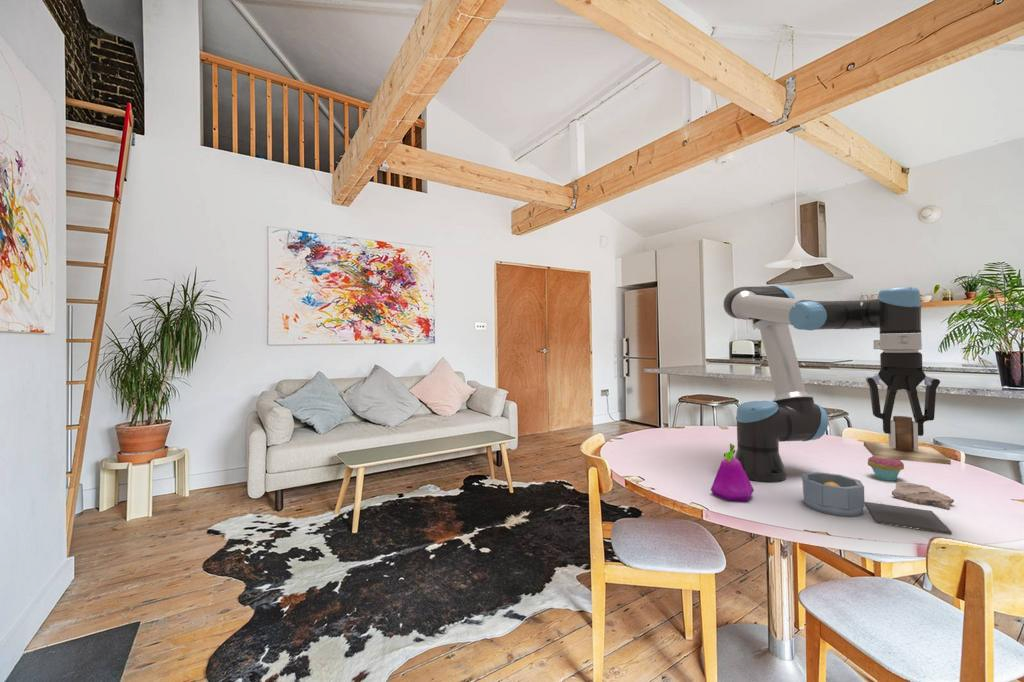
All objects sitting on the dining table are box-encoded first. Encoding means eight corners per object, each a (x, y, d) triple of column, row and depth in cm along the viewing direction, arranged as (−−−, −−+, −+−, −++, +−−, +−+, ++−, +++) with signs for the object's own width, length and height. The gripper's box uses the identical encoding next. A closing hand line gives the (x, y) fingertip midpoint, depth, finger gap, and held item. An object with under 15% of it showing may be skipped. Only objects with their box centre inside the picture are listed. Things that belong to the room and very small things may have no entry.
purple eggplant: (703, 490, 125) (702, 439, 125) (738, 488, 126) (737, 437, 126) (725, 504, 114) (724, 449, 114) (764, 502, 115) (762, 447, 115)
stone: (955, 500, 114) (955, 490, 114) (952, 513, 106) (952, 502, 106) (897, 489, 123) (897, 479, 123) (890, 500, 115) (890, 490, 115)
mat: (875, 522, 101) (875, 520, 101) (864, 503, 112) (864, 501, 112) (951, 534, 94) (951, 531, 94) (931, 513, 105) (931, 510, 105)
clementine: (822, 500, 110) (822, 483, 110) (820, 494, 114) (820, 478, 114) (844, 503, 108) (843, 486, 108) (841, 497, 111) (841, 481, 111)
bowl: (805, 510, 108) (804, 483, 108) (801, 495, 119) (801, 470, 119) (867, 520, 102) (867, 491, 102) (858, 502, 113) (857, 476, 113)
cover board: (874, 457, 101) (873, 419, 101) (863, 445, 112) (862, 411, 112) (950, 464, 94) (949, 424, 94) (931, 451, 105) (930, 414, 105)
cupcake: (890, 474, 135) (889, 436, 135) (912, 483, 126) (911, 442, 126) (861, 473, 136) (860, 436, 136) (881, 482, 127) (880, 442, 127)
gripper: (860, 352, 104) (862, 447, 104) (953, 351, 95) (956, 455, 95) (854, 351, 110) (857, 441, 110) (941, 350, 102) (944, 448, 102)
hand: (903, 447), depth 103 cm, fingers closed on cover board, 3 cm apart
